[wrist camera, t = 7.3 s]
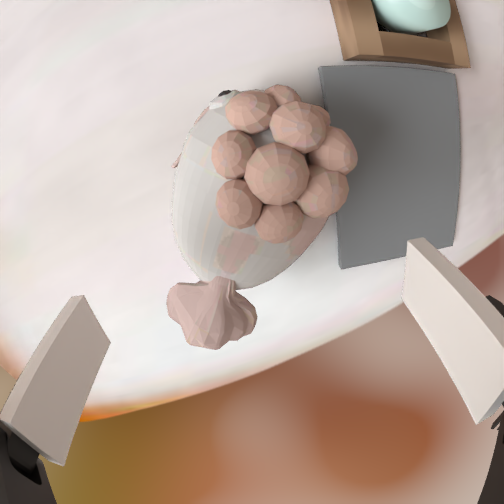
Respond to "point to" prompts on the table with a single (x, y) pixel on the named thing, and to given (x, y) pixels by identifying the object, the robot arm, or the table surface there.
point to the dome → (411, 15)
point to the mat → (395, 158)
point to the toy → (250, 202)
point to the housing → (397, 38)
